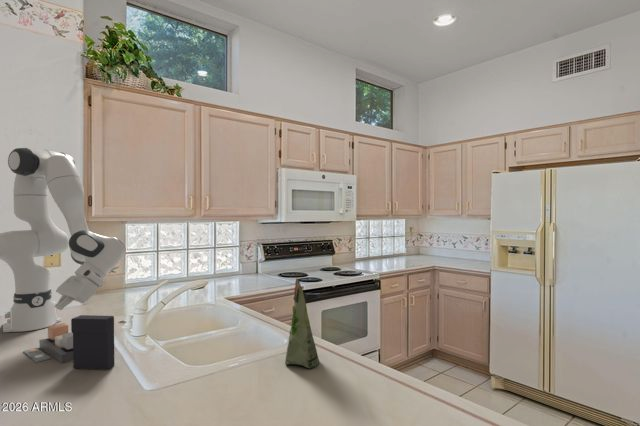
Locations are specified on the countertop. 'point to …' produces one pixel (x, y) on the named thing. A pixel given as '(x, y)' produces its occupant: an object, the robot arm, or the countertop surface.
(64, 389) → the countertop surface
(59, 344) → the cream key
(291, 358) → the green tall pyramid
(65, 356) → the keyguard frame
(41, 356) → the card
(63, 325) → the terracotta key
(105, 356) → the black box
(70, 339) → the grey key
